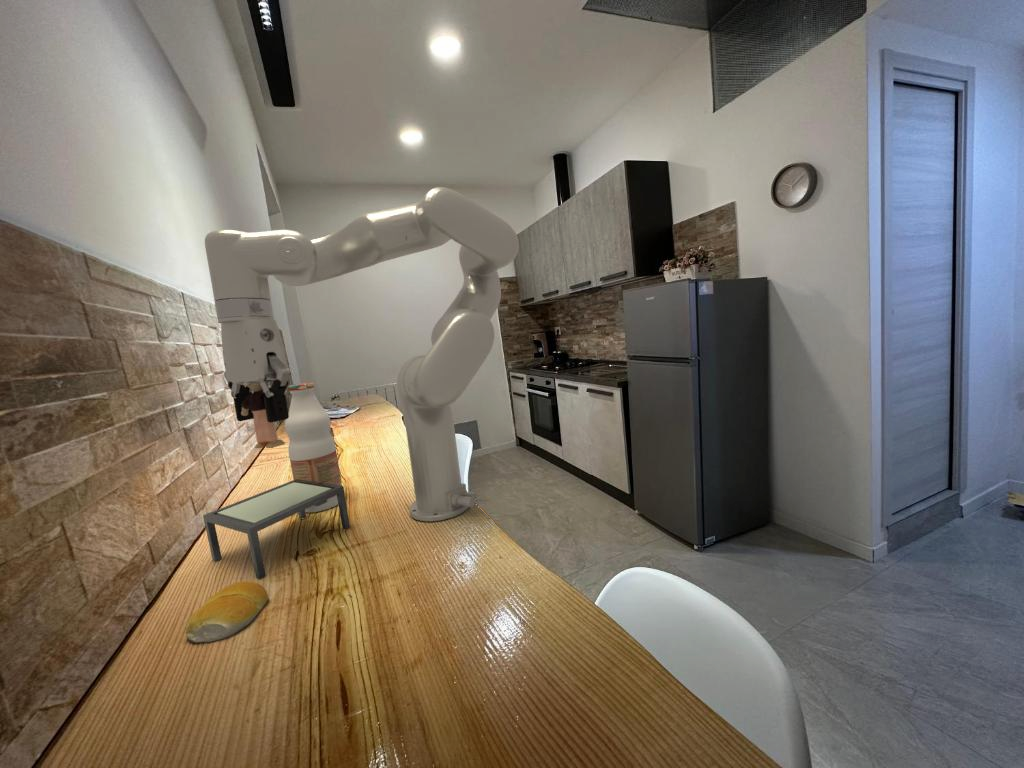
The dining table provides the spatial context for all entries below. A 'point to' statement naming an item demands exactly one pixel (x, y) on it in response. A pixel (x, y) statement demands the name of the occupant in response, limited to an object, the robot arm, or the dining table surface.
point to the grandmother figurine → (260, 417)
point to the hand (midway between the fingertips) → (262, 419)
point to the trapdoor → (273, 502)
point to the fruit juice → (311, 442)
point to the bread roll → (226, 612)
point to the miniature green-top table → (269, 521)
